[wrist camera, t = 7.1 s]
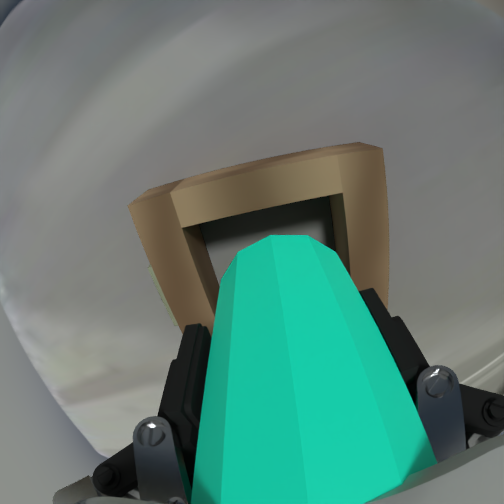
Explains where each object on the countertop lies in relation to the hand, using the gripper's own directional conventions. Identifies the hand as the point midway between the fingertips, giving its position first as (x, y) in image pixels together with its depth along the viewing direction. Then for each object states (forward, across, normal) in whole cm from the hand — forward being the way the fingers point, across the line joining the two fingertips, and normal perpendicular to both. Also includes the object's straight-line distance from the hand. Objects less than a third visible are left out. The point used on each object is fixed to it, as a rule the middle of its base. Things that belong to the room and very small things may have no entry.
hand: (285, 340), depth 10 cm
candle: (+3, 0, 0) cm, 3 cm away
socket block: (+7, 0, +6) cm, 9 cm away
